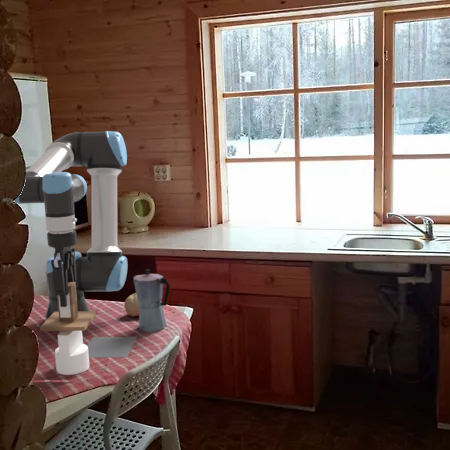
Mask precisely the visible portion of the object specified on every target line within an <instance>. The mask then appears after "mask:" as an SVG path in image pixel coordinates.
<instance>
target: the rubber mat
mask: <svg viewBox="0 0 450 450" xmlns="http://www.w3.org/2000/svg"><path fill="white" fill-rule="evenodd" d="M137 338H138V336H93V337H92V338H91V340H90V341H89V343H88V344H87V346H88V353H89V359H90V358H91V359H92V358H129V357H128V356H129V355H130V353H131V351H132V348H133V346H134V344H135V342H136V340H137Z"/></svg>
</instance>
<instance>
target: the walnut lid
mask: <svg viewBox="0 0 450 450" xmlns="http://www.w3.org/2000/svg"><path fill="white" fill-rule="evenodd" d="M68 294H69V297H70V309H71V317H70V318H60V307H59V295H57V299H58V310H59V312H54V313H53V314H52V315H51V316H50V317H49V318H48V319H47V320H46V321H45V320H44V322H43V323H42V324H41V326H40V327H39V331H40V332H55V331H56V332H62V331H82V332H83V331H84V332H85V331H86V330H87V328H88V327H90V324H91V323H92V321H93V320H94V318H95V317H96V316H97V311H96V310H90V311H78V307H77V294H76V282H68Z"/></svg>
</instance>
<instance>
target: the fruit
mask: <svg viewBox="0 0 450 450" xmlns="http://www.w3.org/2000/svg"><path fill="white" fill-rule="evenodd" d="M124 309H125V312H126V313H127V314H128V315H129V316H130V317H140V304H139V301H138V298H137V294H136V292H135V293H132V294H130V295H129V296H128V297H127V298H126V299H125V301H124Z"/></svg>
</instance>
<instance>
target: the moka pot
mask: <svg viewBox="0 0 450 450" xmlns="http://www.w3.org/2000/svg"><path fill="white" fill-rule="evenodd" d="M150 272H151V270H150V269H149V268H147V269H145V274H138V275H133V277H132V278H133V284H134V289H135V293H136V294H137V298H138V301H139V304H140V316H138V317H139V321H138V325H139V326H138V328H139V330H140V331H142V332H148V333H151V332H153V333H155V332H159V331H162V330H165V329H166V327H167V322H166V318H165V313H164V308H163V306H164V307H165V306H167V305H168V304H167V303H168V298H169V294H170V290H171V289H170V287H171V286H170V283H169V281H167V279H166V277H164V275H161V274H158V273H150ZM164 284H165V286H166V287H165V288H166V289H165V294H164V300H163V302H162V299H163V290H164V289H163V288H164Z"/></svg>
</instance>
